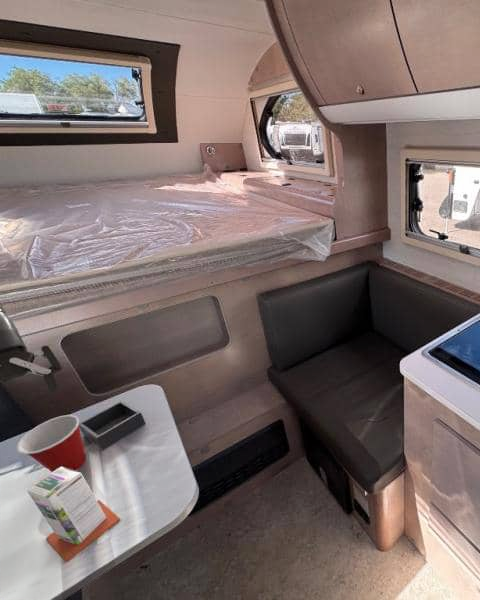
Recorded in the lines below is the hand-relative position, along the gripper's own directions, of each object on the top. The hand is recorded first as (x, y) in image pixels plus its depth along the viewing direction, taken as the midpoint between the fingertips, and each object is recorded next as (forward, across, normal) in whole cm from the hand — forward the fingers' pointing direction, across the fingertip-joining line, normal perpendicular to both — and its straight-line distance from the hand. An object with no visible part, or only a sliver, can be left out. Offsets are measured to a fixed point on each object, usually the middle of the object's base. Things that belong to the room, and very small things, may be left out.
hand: (25, 401), depth 68 cm
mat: (+29, -1, +5) cm, 30 cm away
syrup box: (+29, -1, +5) cm, 29 cm away
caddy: (+10, +11, +24) cm, 29 cm away
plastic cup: (+14, 0, +21) cm, 25 cm away
